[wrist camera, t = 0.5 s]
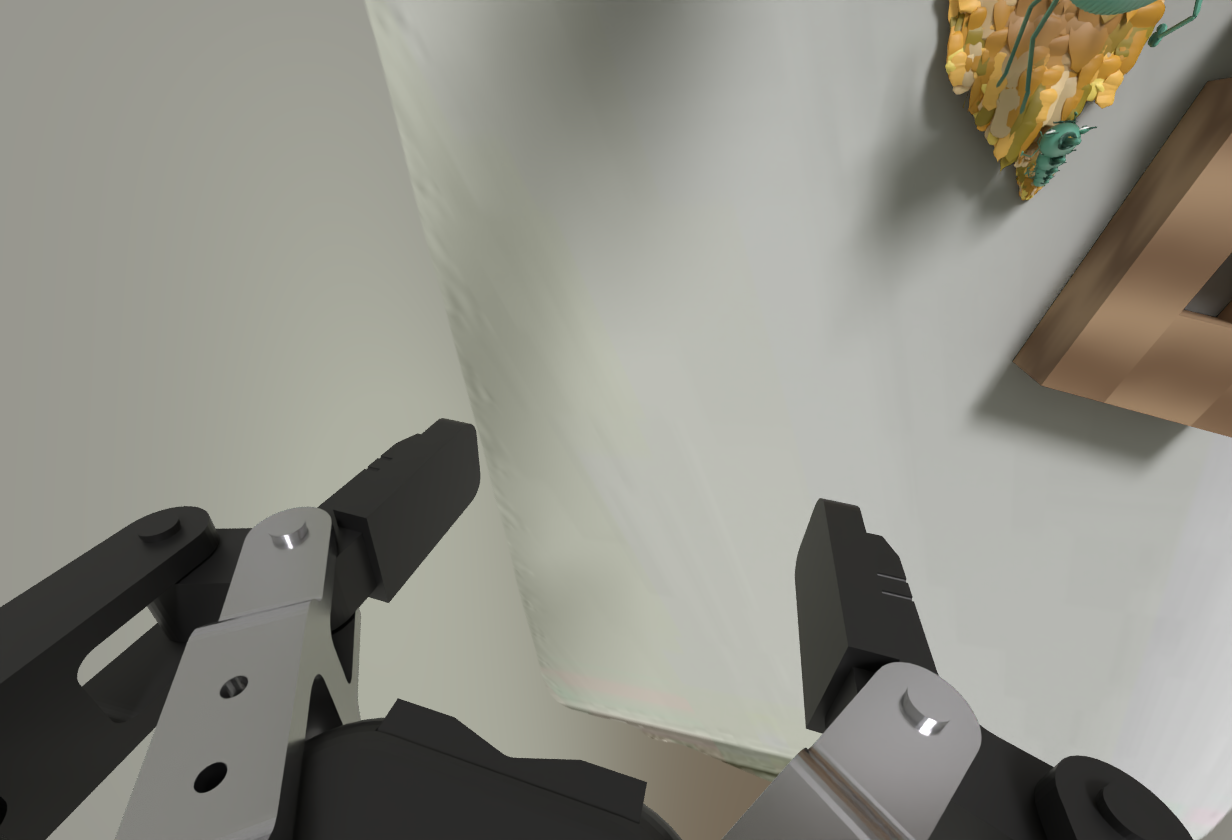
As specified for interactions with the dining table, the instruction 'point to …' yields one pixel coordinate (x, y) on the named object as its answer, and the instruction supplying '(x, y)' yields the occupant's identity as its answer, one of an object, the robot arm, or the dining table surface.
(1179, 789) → the dining table surface
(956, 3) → the teal creature figurine
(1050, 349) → the hole block
